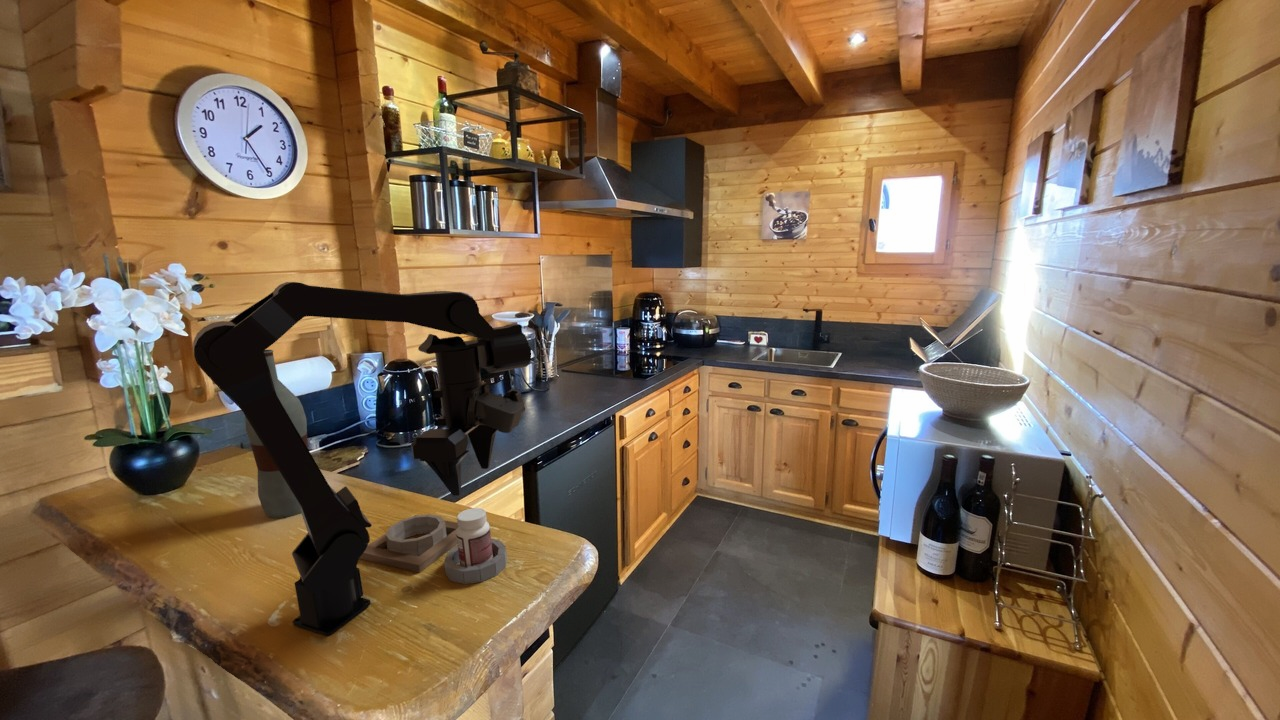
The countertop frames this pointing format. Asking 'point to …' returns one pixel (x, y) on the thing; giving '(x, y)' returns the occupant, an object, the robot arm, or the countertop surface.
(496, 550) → the holder
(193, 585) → the countertop surface
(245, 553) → the countertop surface
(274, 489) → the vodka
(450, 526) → the socket board
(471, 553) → the pill bottle
